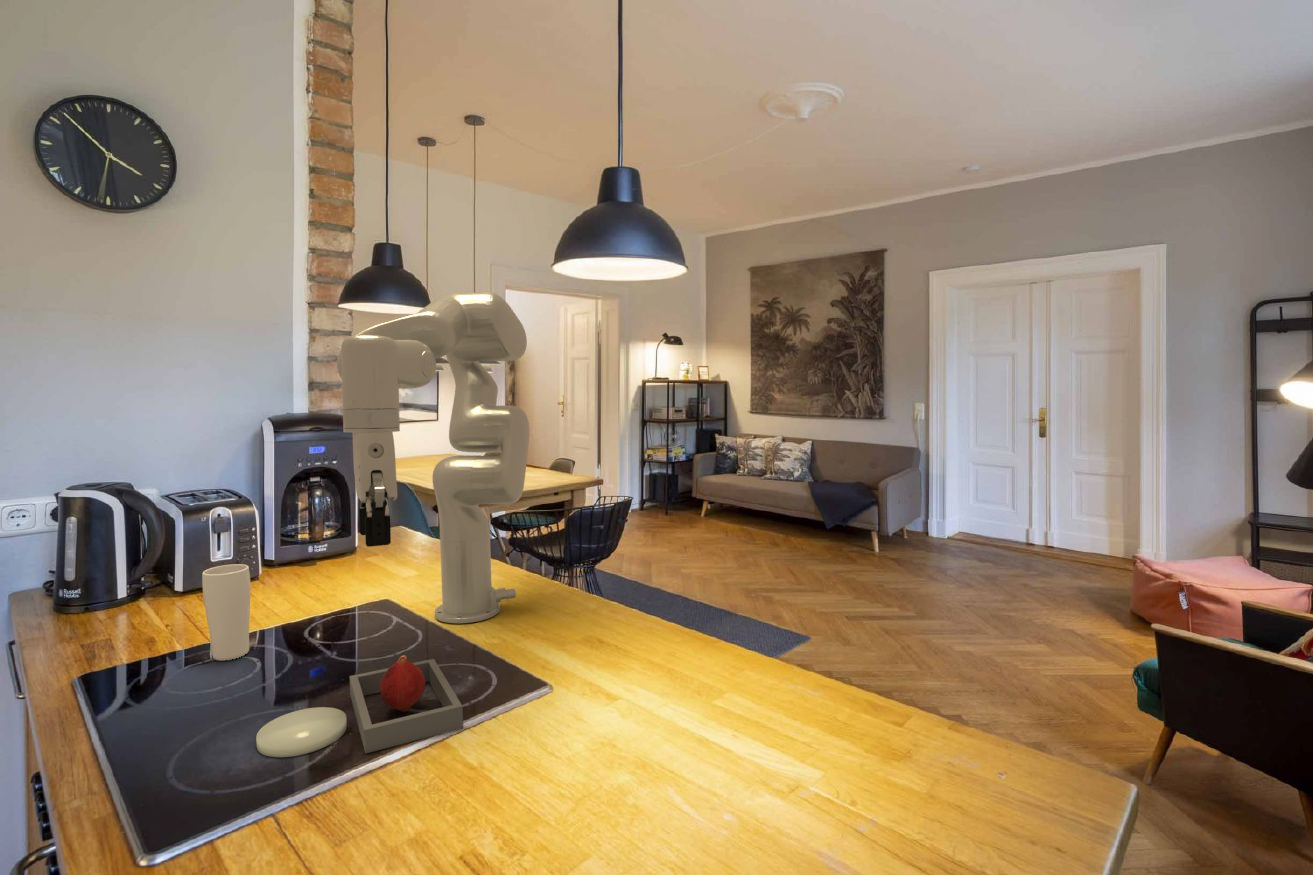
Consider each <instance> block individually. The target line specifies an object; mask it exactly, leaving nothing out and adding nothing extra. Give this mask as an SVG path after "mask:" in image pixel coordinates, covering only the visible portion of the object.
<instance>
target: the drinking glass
mask: <svg viewBox="0 0 1313 875" xmlns="http://www.w3.org/2000/svg"><path fill="white" fill-rule="evenodd" d="M201 575H202V576H201V577H202V578H201V579H202V580H201V583H202V596H203V603H204V608H205V615H206V620H207V628H208V630H209V631H208V632H209V637H210V643H211V644H210V645H211V655H212V657H213V658H212V659H214V660H216V661H219V662H224V661H226V660H227V661H232V659H233V660H236V658H237V659H240V658H242V657H244V656H245V654H246V655H248V653H249V652H250V621H251V620H250V617H251V616H250V615H251V613H250V612H251V573H250V567H249V565H247V564H242V563H241V564H240V563H239V564H236V563H235V564H225V565H217V566H214V567H210V568H208V569H206V570H203V572H202V574H201ZM241 656H242V657H241ZM239 657H240V658H239Z"/></svg>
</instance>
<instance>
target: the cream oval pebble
mask: <svg viewBox="0 0 1313 875" xmlns="http://www.w3.org/2000/svg"><path fill="white" fill-rule="evenodd" d="M347 727H348V724H347V714H346V713H345V712H344V711H343V710H341V709H338V708H335V707H330V706H329V707H326V706H322V707H321V706H318V707H310V708H305V709H300V710H295V711H292V712H289V713H285V714H283V715H280V716H278V717H276V718H274V719H272V720H270V721H268V722H267V723H266V724H264V725H263V726H262V727H261V728H259V730H258V732H257V734H256V737H255V738H256V739H255V742H256V748H257V751H258V752H259V753H260V754H262V755H263V756H267V757H272V758H291V757H297V756H302V755H306V754H309V753H313V752H316V751H318V750H321V749H323V748H326V747H328V746H330V745H331V744H333V743H335V742H336V741H338V740H339V739H341V737H342V736H344V734H345V733H346V731H347Z"/></svg>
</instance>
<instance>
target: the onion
mask: <svg viewBox="0 0 1313 875" xmlns="http://www.w3.org/2000/svg"><path fill="white" fill-rule="evenodd" d="M413 663H414V662H410V661H409V660H408V656H407V655H406V654H405V655H401V656H400V657H399V658H398V659H397V661H396V662H394V663H393V664H391V665H390V666H389V667H388V668H389V669H388V670H387V671H386V673H385V674H384V676H383V678H382V681H381V685H380V691H381V692H380V695H381V699H382V701H383V702H384V703H385V705H387V706H388V707H390V708H392V709H395V710H398V711H400V712H402V713H403V712H404V713H405V712H407V711H409V710H410V709H411V708H412V707H413V705H415V704H416V703H417V702H419V700H420V699H421V697H422V696H423V694H424V691H425V688H426V682H425V679H424V676H423V674H422V671H421V670H420V669H419V667H417V666H416V665H415V664H413Z"/></svg>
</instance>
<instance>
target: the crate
mask: <svg viewBox="0 0 1313 875" xmlns="http://www.w3.org/2000/svg"><path fill="white" fill-rule="evenodd" d="M412 663H413V664H415V665H416V666H417V667H419V669H420V670H421V671H422V674H423V676H424V679H425V683H427V682H429V684H430V685H431V687H432V689H433V691H434V693H435V695H436V696H437V698H438V700H439V703H440V704H441V706H442V707H439V708H434V709H431V710H426V711H422V712H419V713H414V714H410V715H406V716H402V717H397V718H393V719H389V720H385V721H382V722H377V723H374V724H372V721H371V720H372V719H371V717H370V714H369V711H368V708H367V707H368V706H367V705H366V700H365V697H366V696H369V695H374V694H379V693H381V691H380V685H381V681H382V678H383V676H384V674H385V673H386V671H387V670H388V669H389V668H390V667H387V668H383V669H378V670H373V671H368V672H364V673H358V674H354V675H353V674H352V675H349V676H348V677H349V692H350V693H349V696H350V700H351V704H352V707H353V711H354V715H355V719H356V723H357V727H358V730H359V734H360V738H361V741H362V745H363V750H364V753H365V754H369V753H373V752H377V751H379V750H385V749H389V748H392V747H395V746H399V745H403V744H407V743H411V742H414V741H418V740H423V739H427V738H431V737H434V736H438V735H441V734H446V733H449V732H452V731H453V732H454V731H457V730H460V729H463V728H464V718H463V717H464V714H463V711H464V710H463V705H462V703H461V701H460V699H459V698H458V696H457V695H456V692H455V691H454V689H453V688H452V687H451V685H450V683H449V682H448V680H447V677H446V676H445V675H444V674H443V672H442V670H441V668H440V666H439V665H438V662H436V659H435V658H431V659H427V660H422V661H421V660H420V661H416V662H412Z"/></svg>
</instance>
